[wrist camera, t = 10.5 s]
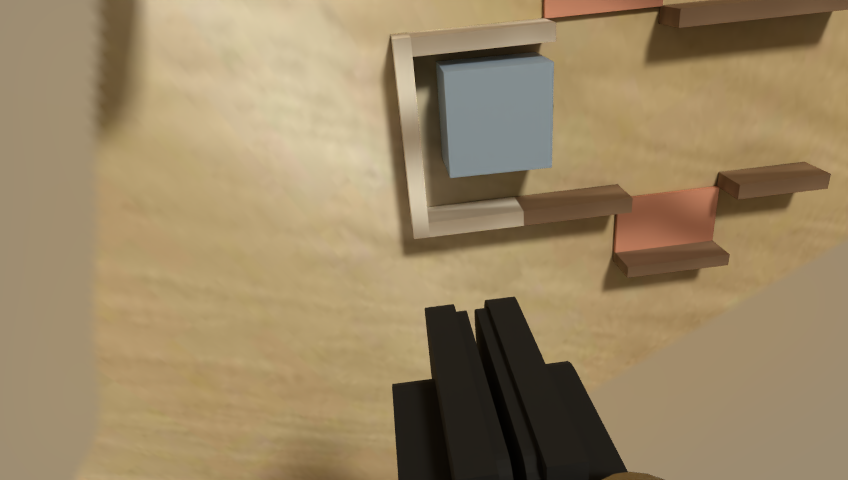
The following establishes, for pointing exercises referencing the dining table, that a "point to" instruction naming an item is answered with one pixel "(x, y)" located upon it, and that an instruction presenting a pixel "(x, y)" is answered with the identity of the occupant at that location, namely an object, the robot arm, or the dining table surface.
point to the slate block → (496, 113)
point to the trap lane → (635, 215)
